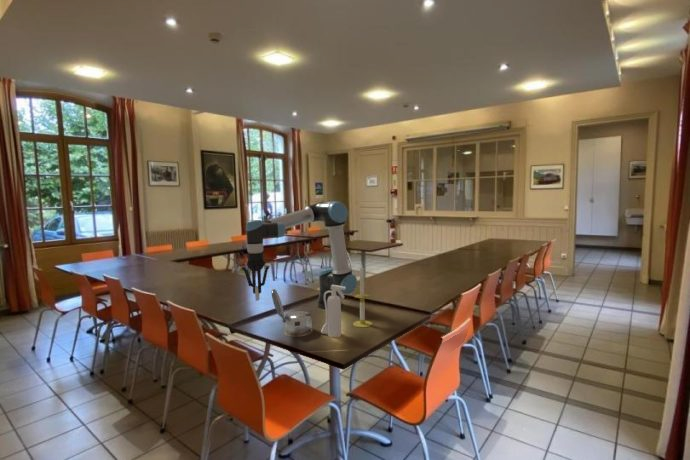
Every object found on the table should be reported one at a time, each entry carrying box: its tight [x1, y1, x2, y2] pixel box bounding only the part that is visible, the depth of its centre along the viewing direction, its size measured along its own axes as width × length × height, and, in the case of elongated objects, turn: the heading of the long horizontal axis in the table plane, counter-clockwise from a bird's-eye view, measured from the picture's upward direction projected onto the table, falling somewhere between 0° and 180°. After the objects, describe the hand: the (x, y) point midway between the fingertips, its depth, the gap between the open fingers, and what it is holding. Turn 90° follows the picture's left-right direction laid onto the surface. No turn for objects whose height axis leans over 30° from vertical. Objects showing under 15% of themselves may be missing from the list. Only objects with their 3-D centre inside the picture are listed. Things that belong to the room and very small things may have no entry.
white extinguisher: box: [320, 285, 346, 338], centre depth 172 cm, size 7×12×25 cm, turn 73°
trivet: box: [284, 328, 314, 337], centre depth 179 cm, size 14×14×1 cm
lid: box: [271, 288, 285, 320], centre depth 177 cm, size 15×14×2 cm
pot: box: [282, 310, 313, 337], centre depth 179 cm, size 14×18×8 cm
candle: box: [352, 263, 373, 328], centre depth 187 cm, size 10×10×32 cm
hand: (257, 299), depth 176 cm, fingers closed
